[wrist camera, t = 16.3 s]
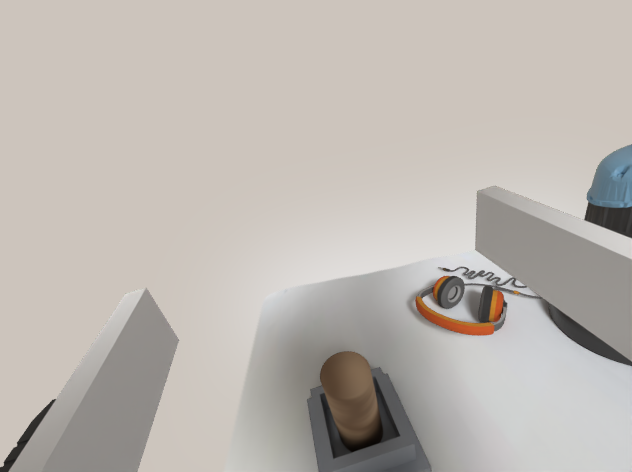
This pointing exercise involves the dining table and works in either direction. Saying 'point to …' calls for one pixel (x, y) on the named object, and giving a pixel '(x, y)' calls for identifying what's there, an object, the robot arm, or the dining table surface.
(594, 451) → the dining table surface
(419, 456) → the grey square tray
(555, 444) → the dining table surface
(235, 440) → the dining table surface
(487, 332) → the headphones
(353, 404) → the walnut cylinder
